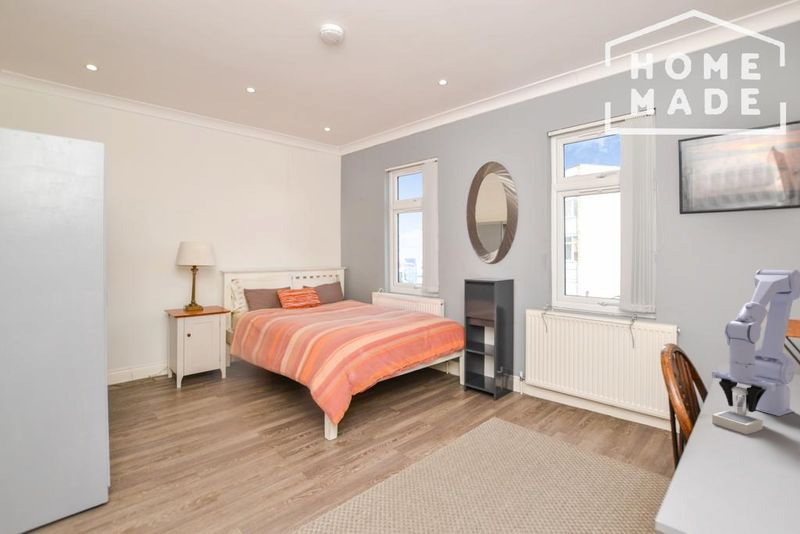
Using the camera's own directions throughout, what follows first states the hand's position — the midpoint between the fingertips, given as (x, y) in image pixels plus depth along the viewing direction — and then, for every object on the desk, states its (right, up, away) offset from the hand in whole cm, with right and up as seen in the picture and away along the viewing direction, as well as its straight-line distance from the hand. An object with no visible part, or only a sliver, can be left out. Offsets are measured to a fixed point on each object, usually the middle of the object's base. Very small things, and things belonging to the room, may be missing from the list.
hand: (741, 408), depth 114 cm
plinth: (-6, -3, -6) cm, 9 cm away
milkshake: (0, -3, 0) cm, 3 cm away
